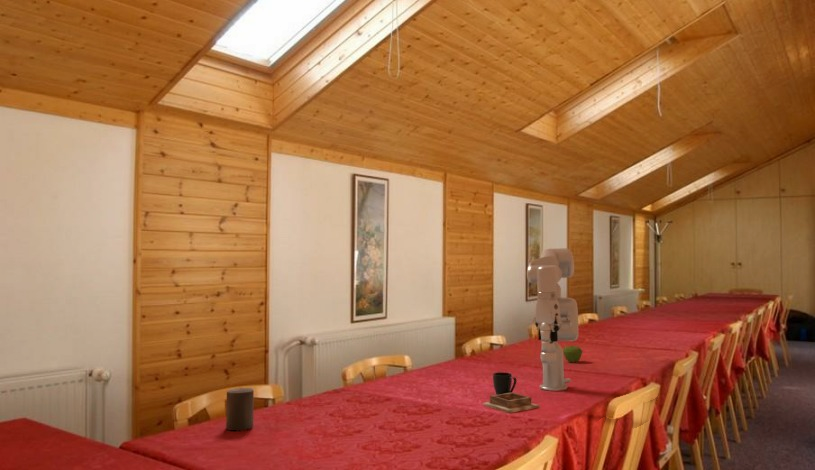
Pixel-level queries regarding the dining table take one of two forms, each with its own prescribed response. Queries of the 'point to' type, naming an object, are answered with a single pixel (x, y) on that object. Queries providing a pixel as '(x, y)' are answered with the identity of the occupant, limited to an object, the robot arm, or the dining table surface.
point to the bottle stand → (510, 402)
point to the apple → (572, 353)
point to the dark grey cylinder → (239, 409)
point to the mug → (503, 382)
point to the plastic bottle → (547, 345)
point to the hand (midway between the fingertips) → (548, 340)
